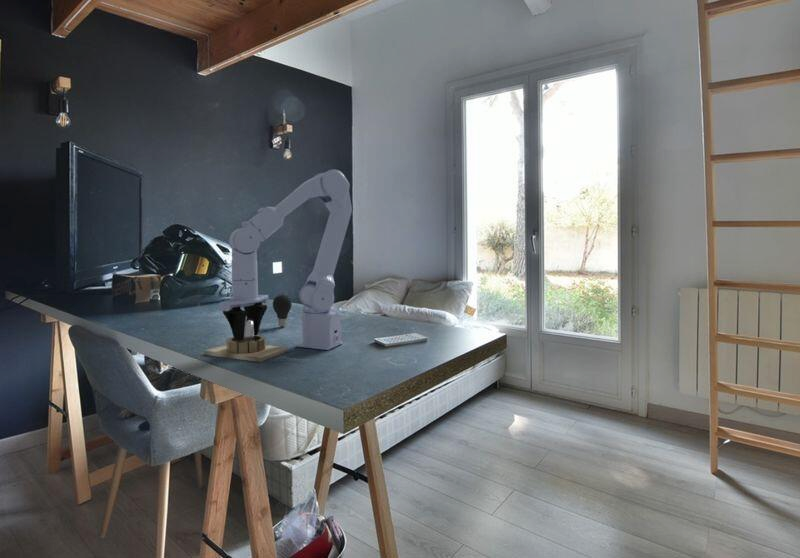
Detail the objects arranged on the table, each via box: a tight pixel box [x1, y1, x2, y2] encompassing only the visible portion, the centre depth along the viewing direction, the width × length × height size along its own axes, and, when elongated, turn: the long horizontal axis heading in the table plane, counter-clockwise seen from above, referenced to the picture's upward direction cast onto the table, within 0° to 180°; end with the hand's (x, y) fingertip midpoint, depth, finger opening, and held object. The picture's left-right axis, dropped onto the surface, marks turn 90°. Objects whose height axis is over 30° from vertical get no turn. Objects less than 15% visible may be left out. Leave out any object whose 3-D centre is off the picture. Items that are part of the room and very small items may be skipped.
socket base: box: [203, 334, 288, 363], centre depth 109 cm, size 16×10×4 cm, turn 69°
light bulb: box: [272, 294, 292, 328], centre depth 140 cm, size 6×6×10 cm
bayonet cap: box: [236, 317, 254, 342], centre depth 109 cm, size 5×4×7 cm
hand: (246, 336), depth 109 cm, fingers open, 5 cm apart
